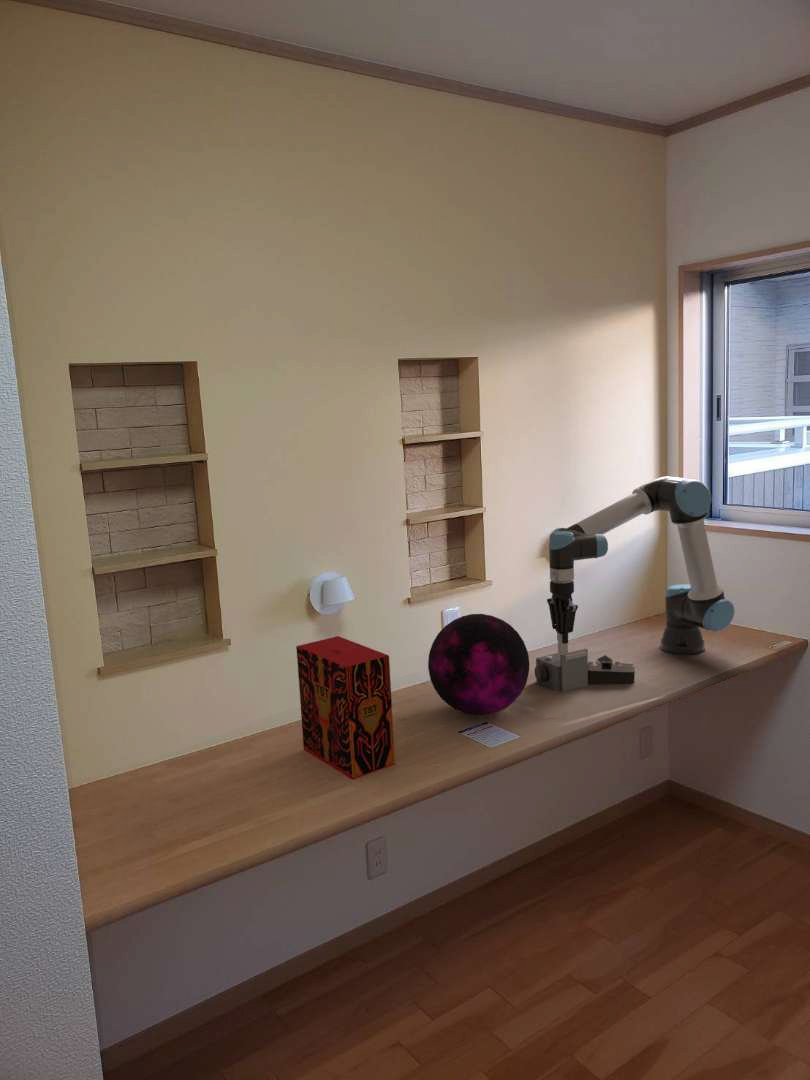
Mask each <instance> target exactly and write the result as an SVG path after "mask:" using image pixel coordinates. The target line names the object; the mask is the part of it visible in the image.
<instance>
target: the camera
mask: <svg viewBox="0 0 810 1080" xmlns="http://www.w3.org/2000/svg"><path fill="white" fill-rule="evenodd" d="M635 669H636V666H635V664H634V663H633V662H632V661H626V662H620V661H614V660H613V658H611V657H609V656H608V655H606V654H604V655H603V656H601V657H598V658H596V660H595V662H594V660H588V685H632V684H634V683H635V677H636V676H635V673H636V671H635Z"/></svg>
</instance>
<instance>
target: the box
mask: <svg viewBox="0 0 810 1080" xmlns="http://www.w3.org/2000/svg"><path fill="white" fill-rule="evenodd" d="M295 648H296V660H297V672H298V673H297V674H298V676H297V677H298V686H299V688H298V689H299V701H300V715H301V716H300V717H301V718H300V719H301V729H302V730H301V731H302V740H303V741H302V744H303V745H302V746H303V751H305V752H306V753H308V754H310V755H312V756H313V757H314V758H316V759H318V760H319V761H321V762H322V763H325V764H326V765H328V766H329V767H330V768H332V769H334V770H336V771H338V772H339V773H341V774H342V775H344V776H346V777H347V778H349V779H350V780H356V779H359V778H361V777H364V776H367V775H370V774H372V773H375V772H377V771H381V770H384V769H387V768H389V767H392V766H394V765H396V763H395V762H396V761H395V743H394V741H395V740H394V724H393V723H394V721H393V705H392V702H393V701H392V686H391V685H392V683H391V682H392V681H391V668H390V667H391V665H390V664H391V663H390V655H388V654H386V653H384V652H380V651H379V650H375V649H374V648H370V647H368V646H365V645H363V644H360V643H358V642H355V641H352V640H350V639H347V638H344V637H341V636H339V635H336V636H333V637H328V638H324V639H320V640H317V641H312V642H307V643H305V644H304V643H303V644H300V645H296V647H295Z"/></svg>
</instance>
